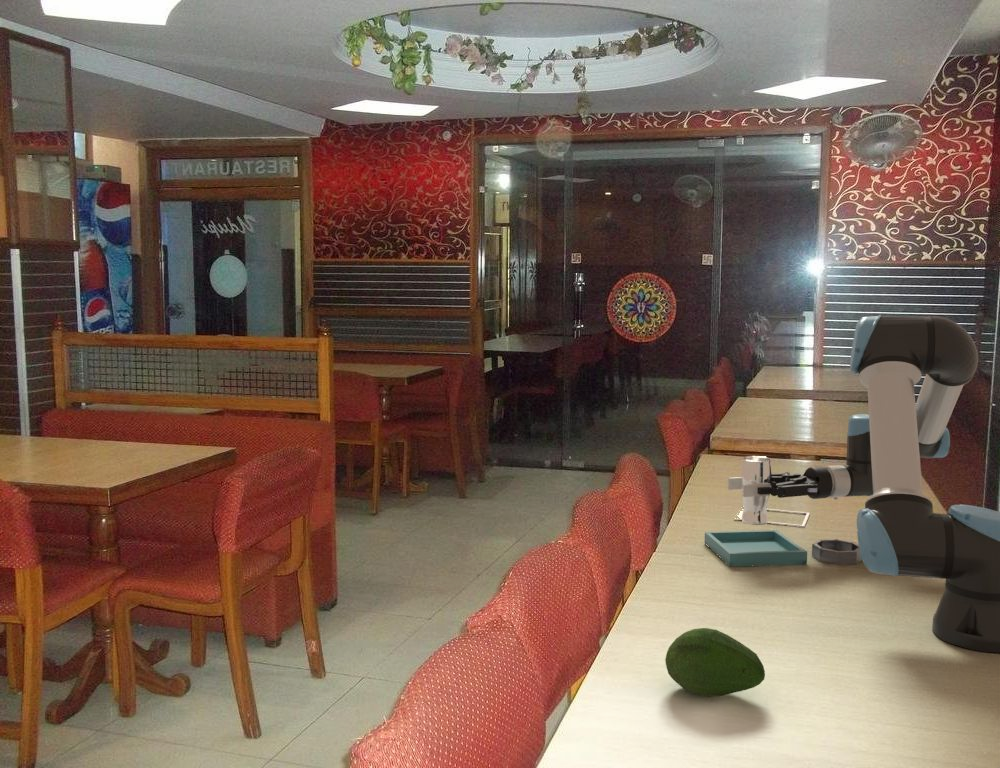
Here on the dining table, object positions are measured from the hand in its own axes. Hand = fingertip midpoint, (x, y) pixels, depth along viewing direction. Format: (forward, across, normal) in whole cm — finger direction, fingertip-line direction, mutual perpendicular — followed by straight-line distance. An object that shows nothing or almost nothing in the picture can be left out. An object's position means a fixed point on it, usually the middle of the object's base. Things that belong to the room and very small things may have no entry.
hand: (736, 487), depth 216 cm
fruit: (+37, -67, -16) cm, 78 cm away
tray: (-5, 0, -16) cm, 17 cm away
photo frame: (-26, +29, -17) cm, 43 cm away
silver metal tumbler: (-5, 0, -9) cm, 10 cm away
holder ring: (-22, -8, -16) cm, 28 cm away
